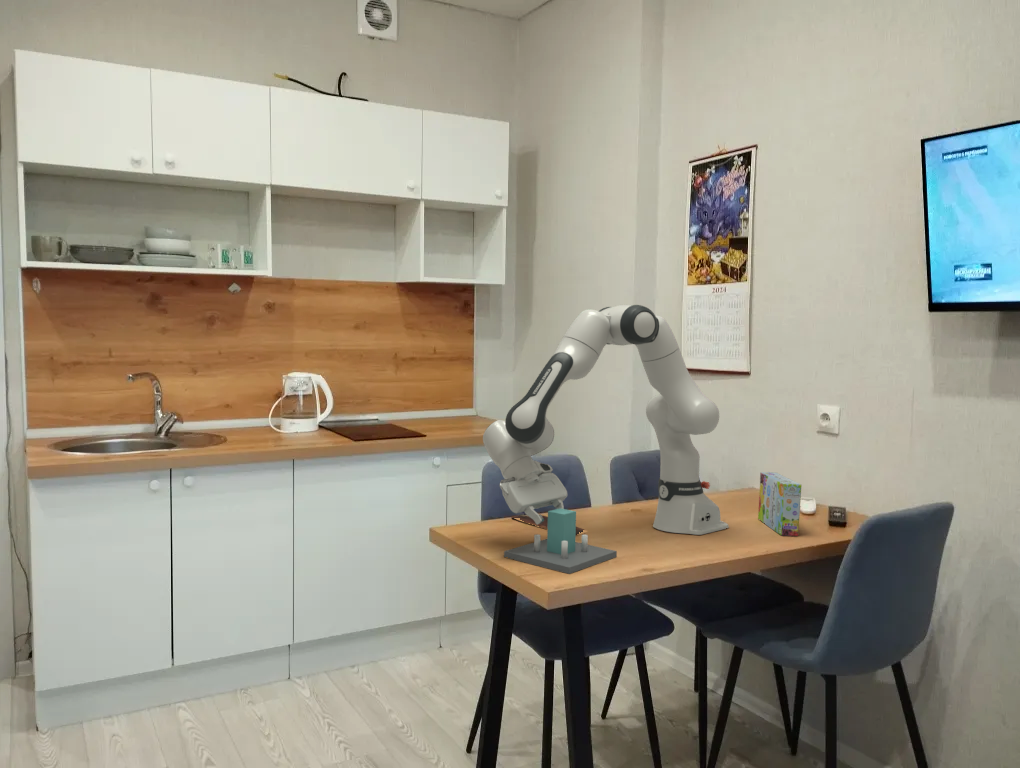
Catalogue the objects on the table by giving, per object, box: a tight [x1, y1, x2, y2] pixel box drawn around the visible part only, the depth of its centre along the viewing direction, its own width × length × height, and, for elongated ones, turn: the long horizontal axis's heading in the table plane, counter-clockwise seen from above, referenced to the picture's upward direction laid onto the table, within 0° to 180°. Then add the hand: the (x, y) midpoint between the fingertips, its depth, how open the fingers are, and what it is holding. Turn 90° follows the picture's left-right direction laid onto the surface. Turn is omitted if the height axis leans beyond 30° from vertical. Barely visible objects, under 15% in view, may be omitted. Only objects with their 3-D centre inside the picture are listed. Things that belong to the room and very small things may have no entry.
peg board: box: [503, 534, 618, 575], centre depth 196 cm, size 20×20×6 cm
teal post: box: [546, 508, 577, 554], centre depth 196 cm, size 5×5×10 cm
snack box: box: [757, 471, 802, 537], centre depth 232 cm, size 21×6×15 cm, turn 0°
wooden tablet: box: [511, 514, 585, 536], centre depth 230 cm, size 26×2×10 cm
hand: (552, 519), depth 197 cm, fingers open, 8 cm apart
